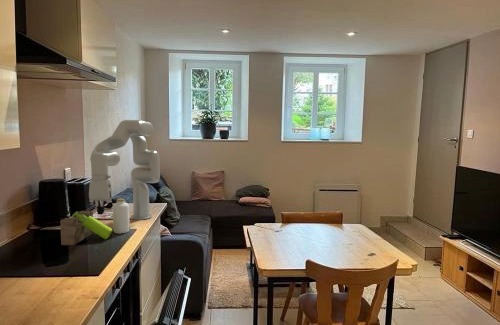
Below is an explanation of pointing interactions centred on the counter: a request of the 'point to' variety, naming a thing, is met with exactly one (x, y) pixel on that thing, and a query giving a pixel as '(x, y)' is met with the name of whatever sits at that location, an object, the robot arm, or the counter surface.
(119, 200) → the potion bottle
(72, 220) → the bottle rest
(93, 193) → the robot arm
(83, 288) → the counter surface
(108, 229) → the soap dispenser
